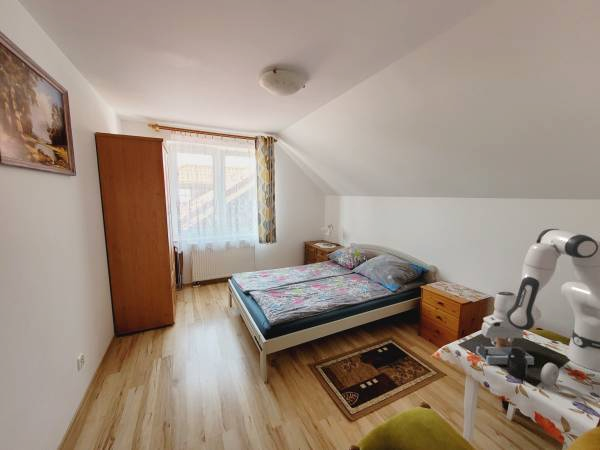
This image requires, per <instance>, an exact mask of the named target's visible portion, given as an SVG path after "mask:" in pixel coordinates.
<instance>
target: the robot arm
mask: <svg viewBox="0 0 600 450" xmlns="http://www.w3.org/2000/svg"><path fill="white" fill-rule="evenodd" d="M562 255H566V256H569V257H571V260H572V267H573V273H574V276H575V278H576V279H577V280H578V281H572V280H571V281H567V282H565V283H562V285H561V287H560V293H561V296H562V297H563V298H564V299H565V301H567V302H568V304H569V305H570V307H571V309H572V311H573V315H574V329H573V330H572V332H571V334H572V335H571V338H570V341H569V344H568V347H566V350H565V351H566V352H565V353H566V354H565V357H566V358H567V359H569V360H570V361H571V362H573V363H574V364H576V365H579V366H580V367H583V368H586V369H589V370H591V371H595V372H598V373H600V241H599V240H595V239H594V238H592V237H590V236H588V235H585V234H581V233H578V232H576V231H575V232H574V231H571V230H570V231H569V230H563V229H562V230H561V229H560V228H559V229H558V228H547V229H544V230H543V231H542V232H541V233H540V234H538V237H537V239H536V243H534V244H532V245H530V247H529V248H528V251H527V252H526V255H525V258H524V260H523V264H522V270H521V279H520V284H519V288H518V293H517V295H516V293H513V292H510V291H500V292H498V293H496V294H495V297H494V302H493V303H494V304H493V307H494V311H493V312H492V313H493V314H491V315H490V314H489V315H488V316H485V317H483V318H482V319H483V323H482V325H481V330H480V331H481V334H482V335H483V336H484V337H485V338H488V339H490V340H491V344H492V345H493V346H495V345H497V342H496V341H495V340H494V339H495V338H506V339H507V340H508V341H509V346H512V343H513V342H514V341H515V339H523V337H524V331H528V330H531V329H532V328H533V327H534V326H535V324H536V323H537V322H538V320H539V319H540V318H541V316H542V313H541V310H540V309H539V307H537V306H536V305H535V302H536V300H537V297H538V294H539V293H540V291H542V290H543V289H544V287H546V286H547V285H548V284H549V282H550V281H551V280H552V278H553V276H554V274H555V272H556V269H557V268H556V267H557V263H558V259H559V258H560V257H561V256H562Z"/></svg>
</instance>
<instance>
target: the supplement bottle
mask: <svg viewBox="0 0 600 450" xmlns="http://www.w3.org/2000/svg"><path fill="white" fill-rule="evenodd" d="M512 347H513V348H512V349H511V352H510V353H509V354H508V361H507V364H506V372H507V374H509V375H510V376H511V377H514V378H517V379H520V380H525V379H526V378H527V371H528V365H527V363H528V361H527V359H526V357H525V352H526V351H525V350H524V351H523V349H522V348H521V349H519V348H515V347H516V346H512Z"/></svg>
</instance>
